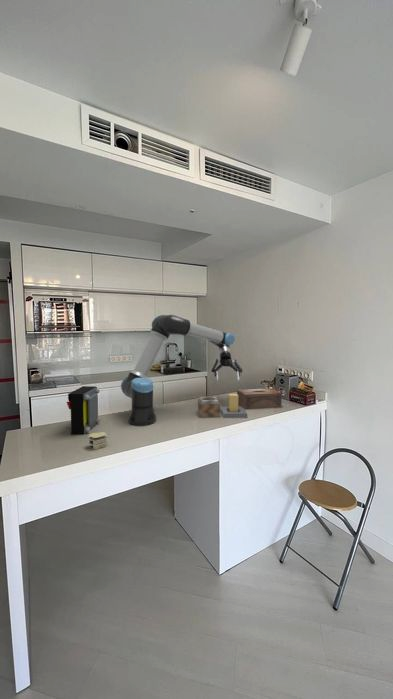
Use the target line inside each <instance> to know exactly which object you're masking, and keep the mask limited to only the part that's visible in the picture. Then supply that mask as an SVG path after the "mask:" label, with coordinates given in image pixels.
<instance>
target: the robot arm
mask: <svg viewBox="0 0 393 699" xmlns="http://www.w3.org/2000/svg"><path fill="white" fill-rule="evenodd" d="M150 334H151V335H150V337H149V339H148V341H147V343H146V345H145V347H144V349H143V351H142V353H141V356H140V357H139V359H138V361H137V363H136V365H135V367H134V369H133V370H130V372H129V373H128V375H127V376H125V377H124V378H123V379H122V381H121V382H120V389H121V392H122V394H124V395H125V397H128V398H130V399H131V410H130V412H129V415H128V423H129V424H130V425H131V426H138V427H139V426H142V427H143V426H149V425H152V424H154V423H156V422H157V415H156V413H155V412H156V411H155V409H154V382H153V381H152V379H150V378H148V375H149V373H150V371H151V369H152V367H153V365H154V363H155V361H156V358H157V356H158V354H159V353H160V350H161V349H162V346H163V344H164V342H165V341H168V340H169V338H170V335H179V336H184V337H185V336H191V337H194V338H199V339H202V340H207V341H208V342H209V343H211V344H213V345H214V346H216V347H218V350H219V359H218V358H216V359H215V363H214V365H213V366H212V368H211V373H214V377H215V378H216V382H219V373H218V372H219V370H220V369H221V368H223V367H230V368H231V369H232V370H234V371H235V372H236V379H237V380H236V381H237V383H238V382H240V377H241V373H243V369H242V367H241V366H240V365H239V362H237V359H234V360H232V353H231V348H230V346H231V345H234V342H235V335H234V334H233V333H230V332H225V331H220V330H218V329H214V328H210V327H207V326H204V325H200V324H197V323H194V322H191V321H190V320H189V319H186V318H184V317H180V316H177V315H174V314H160V315H158V316H156V317H154V318H153V320H152V322H151V329H150ZM219 363H220V364H219Z"/></svg>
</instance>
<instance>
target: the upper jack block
mask: <svg viewBox="0 0 393 699" xmlns="http://www.w3.org/2000/svg"><path fill="white" fill-rule="evenodd" d="M220 407H221V403H220V401H219V400H218V398H217V396H199V398H198V399H197V413H198V414H197V415H198V418H203V419H204V418H221V414H220V413H221V412H220Z"/></svg>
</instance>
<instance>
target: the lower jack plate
mask: <svg viewBox="0 0 393 699" xmlns="http://www.w3.org/2000/svg"><path fill="white" fill-rule="evenodd" d="M220 413H221V414H220V415H221V416H222V418H224V419H231V418H232V419H235V418H236V419H239V418H240V419H244V418H246V419H247V418H248V412H247V410H245V409H243V407H241V406H238V412H228V406H220Z"/></svg>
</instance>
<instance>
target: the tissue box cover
mask: <svg viewBox="0 0 393 699" xmlns="http://www.w3.org/2000/svg"><path fill="white" fill-rule="evenodd" d="M236 394H237V395H238V407H243V409H244V410H245V411H247V410H260V409H278V408H280V407H281V408H282V404H283V403H282V399H283V398H282V397H283V396H282V395H283V393H282V392H281V391H278V390H276V389H273V388H251V389H249V388H247V389H244V388H243V389H237V390H236Z"/></svg>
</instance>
